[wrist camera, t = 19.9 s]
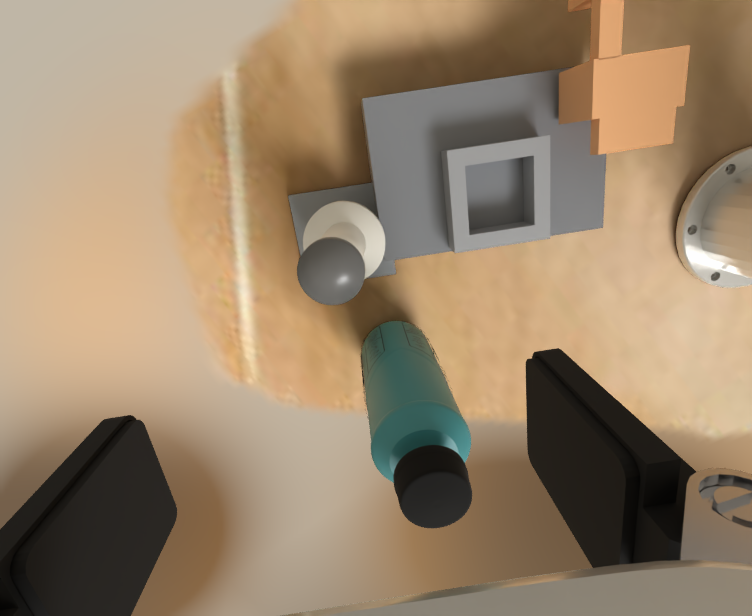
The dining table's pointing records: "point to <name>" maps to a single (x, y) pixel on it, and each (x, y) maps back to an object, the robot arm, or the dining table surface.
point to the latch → (622, 86)
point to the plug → (340, 251)
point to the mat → (313, 201)
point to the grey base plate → (480, 166)
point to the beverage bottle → (415, 425)
